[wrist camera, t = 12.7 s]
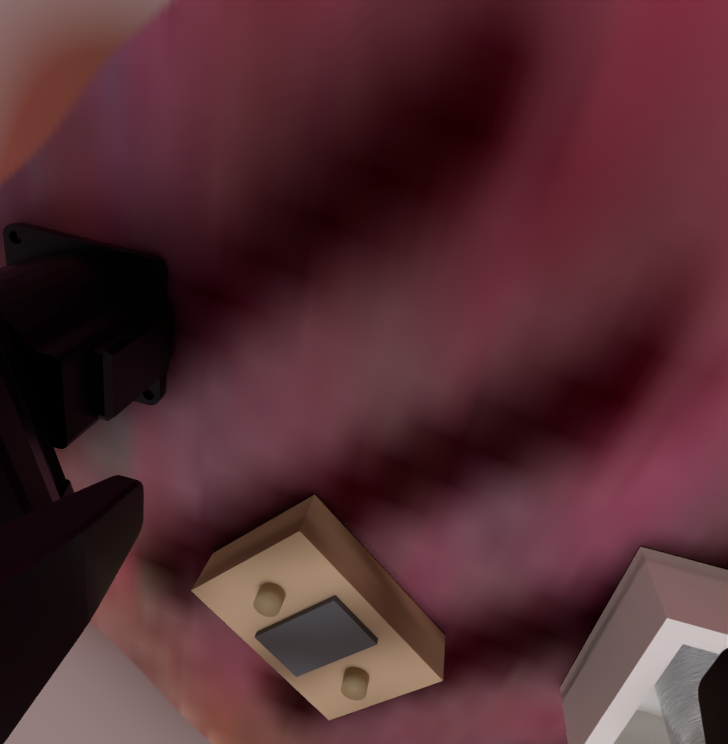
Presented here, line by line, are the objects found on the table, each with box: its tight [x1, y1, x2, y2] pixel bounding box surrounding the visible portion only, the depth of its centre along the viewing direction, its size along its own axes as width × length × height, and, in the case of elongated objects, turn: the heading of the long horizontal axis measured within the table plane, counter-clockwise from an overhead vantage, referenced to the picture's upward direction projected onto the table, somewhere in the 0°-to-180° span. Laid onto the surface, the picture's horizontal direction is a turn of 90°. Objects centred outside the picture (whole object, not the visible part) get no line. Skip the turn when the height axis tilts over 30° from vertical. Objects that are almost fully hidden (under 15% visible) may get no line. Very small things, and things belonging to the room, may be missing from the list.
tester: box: [191, 495, 445, 720], centre depth 26 cm, size 10×7×3 cm
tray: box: [560, 547, 728, 744], centre depth 23 cm, size 10×10×4 cm
